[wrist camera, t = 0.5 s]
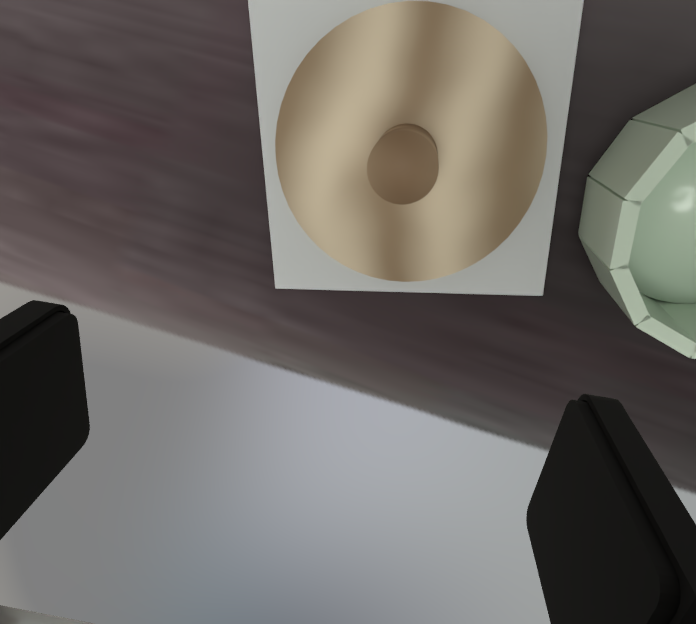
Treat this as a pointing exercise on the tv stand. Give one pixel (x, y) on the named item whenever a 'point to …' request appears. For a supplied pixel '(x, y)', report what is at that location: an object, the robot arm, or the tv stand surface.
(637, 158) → the bowl
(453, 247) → the lid
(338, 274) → the mat
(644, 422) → the tv stand surface
